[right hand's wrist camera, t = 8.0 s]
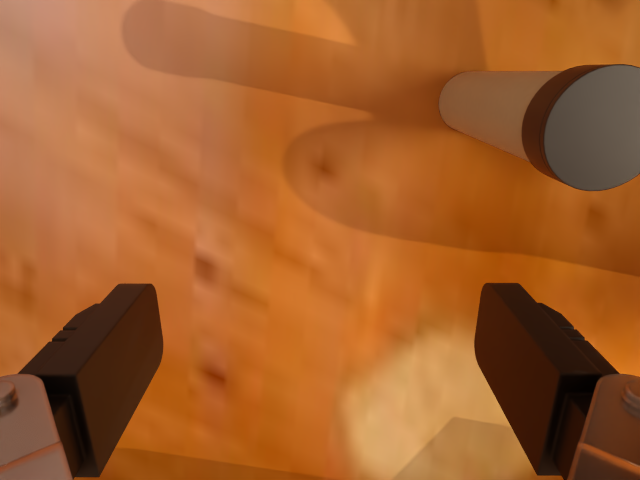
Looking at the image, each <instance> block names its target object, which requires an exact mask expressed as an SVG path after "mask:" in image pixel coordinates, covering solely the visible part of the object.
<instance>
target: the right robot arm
mask: <svg viewBox="0 0 640 480" xmlns="http://www.w3.org/2000/svg"><path fill="white" fill-rule="evenodd" d="M474 347H475V355H476V360H477V363H478V365H479V367H480V369H481V371H482V373H483V374H484V376H485V378H486V380H487V382H488V384H489V386H490V388H491V389H492V391H493V393H494V395H495V397H496V399H497V401H498V403H499V404H500V406H501V408H502V410H503V412H504V414H505V416H506V418H507V420H508V421H509V423H510V425H511V427H512V429H513V431H514V433H515V435H516V436H517V438H518V440H519V442H520V444H521V446H522V448H523V450H524V451H525V453H526V455H527V457H528V459H529V461H530V463H531V465H532V466H533V468H534V470H535V472H536V474H537V475H562V477H563V479H564V480H640V377H638V376H633V375H627V374H619V373H618V372H617V370H616V369H615V368H614V367H613V366H612V365H611V364H610V363H609V362H608V361H607V360H606V359H605V358H604V357H603V356H602V355H601V354H600V353H599V352H598V351H597V350H596V349H595V348H594V347H593V346H592V345H591V344H590V343H589V342H588V341H585V340H584V337H583V336H582V335H581V334H580V333H579V332H578V331H577V330H574V327H573V326H572V325H571V324H570V323H569V321H568V320H567V319H566V318H565V317H564V316H563V315H562V314H560V313H559V312H557V311H555V310H553V309H551V308H550V307H548V306H546V305H544V304H543V303H537V302H536V301H535V300H534V299H533V298H532V297H531V296H530V295H529V294H528V293H527V292H526V290H525V289H524V288H523V287H522V286H521V285H520V284H518V283H486V284H484V286H483V288H482V291H481V297H480V304H479V311H478V318H477V325H476V333H475V341H474ZM162 354H163V336H162V329H161V322H160V315H159V308H158V301H157V294H156V290H155V288H154V286H153V285H152V284H118V285H117V286H116V287H115V288H114V289H113V290H112V291H111V292H110V294H109V295H108V296H107V297H106V298H105V299H104V300H103V301H102V302H101V303H100V304H94V305H92V306H91V307H89V308H87V309H85V310H83V311H82V312H80V313H78V314H76V315H75V316H74V317H73V318H72V319H71V320H70V321H69V322H68V323H67V324H66V325H65V326H64V327H63V330H60V331H59V332H58V333H57V334H56V335H55V336H54V337H53V338H52V342H48V343H47V345H46V346H45V347H44V348H43V349H42V350H41V351H40V352H39V353H38V354H37V355H36V356H35V357H34V358H33V359H32V360H31V361H30V362H29V363H28V364H27V365H26V366H25V367H24V368H23V369H22V370H21V371H20V372H19V373H18V374H13V375H7V376H2V377H0V480H73V479H74V477H99V476H100V475H101V473H102V471H103V469H104V467H105V465H106V463H107V462H108V460H109V458H110V456H111V454H112V452H113V450H114V449H115V447H116V445H117V443H118V441H119V439H120V437H121V436H122V434H123V432H124V430H125V428H126V426H127V424H128V423H129V421H130V419H131V417H132V415H133V413H134V412H135V410H136V408H137V406H138V404H139V402H140V400H141V399H142V397H143V395H144V393H145V391H146V389H147V387H148V386H149V384H150V382H151V380H152V378H153V376H154V374H155V373H156V371H157V369H158V367H159V365H160V362H161V359H162Z"/></svg>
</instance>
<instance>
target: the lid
mask: <svg viewBox="0 0 640 480" xmlns="http://www.w3.org/2000/svg"><path fill="white" fill-rule="evenodd" d="M521 137H522V144H523V148H524V151H525V154H526V156H527V158H528V159H529V161H530V162H531V164H532V165H533V166H534V167H535V168H536V169H537V170H539V171H540V172H541V173H543V174H545V175H547V176H549V177H551V178H553V179H555V180H558V181H560V182H562V183H564V184H566V185H568V186H571V187H573V188H576V189H580V190H585V191H601V190H607V189H611V188H614V187H617V186H619V185H622V184H624V183H626V182H628V181H630V180H631V179H633V178H634V177H636V176H637V175H638V174H640V68H639V67H635V66H632V65H624V64H615V65H583V66H577V67H573V68H570V69H567V70H565V71H563V72H561V73H559V74H557V75H555V76H554V77H552V78H551V79H550V80H548V81H547V82H546V83H545V84H544V85H543V86H542V87H541V88H540V89H539V90H538V91H537V93H536V94H535V95H534V97H533V98H532V100H531V101H530V103H529V105H528V107H527V110H526V112H525V115H524V118H523V122H522V135H521Z"/></svg>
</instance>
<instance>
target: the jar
mask: <svg viewBox="0 0 640 480" xmlns="http://www.w3.org/2000/svg"><path fill="white" fill-rule="evenodd" d="M561 72H563V71H467V72H463V73H460V74H458V75H456V76H454V77H453V78H451V79H450V80H449V81H448V82H447V83H446V85H445V86H444V88H443V89H442V92H441V94H440V98H439V112H440V115H441V117H442V119H443V120H444V122H445V123H446V124H447V125H448V126H449V127H451V128H453V129H455V130H457V131H459V132H462V133H464V134H466V135H469V136H471V137H473V138H476V139H478V140H480V141H483V142H485V143H487V144H489V145H492V146H494V147H496V148H499V149H501V150H503V151H506V152H508V153H510V154H513V155H515V156H517V157H519V158H522V159H524V160H526V161H529V159H528V158H527V156H526V154H525V151H524V148H523V144H522V137H521V135H522V122H523V118H524V115H525V112H526V110H527V107H528V105H529V103H530V101H531V100H532V98H533V97H534V95H535V94H536V93H537V91H538V90H539V89H540V88H541V87H542V86H543V85H544V84H545V83H546V82H547V81H548V80H550V79H551V78H552V77H554V76H555V75H557V74H559V73H561ZM529 162H530V161H529Z"/></svg>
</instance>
